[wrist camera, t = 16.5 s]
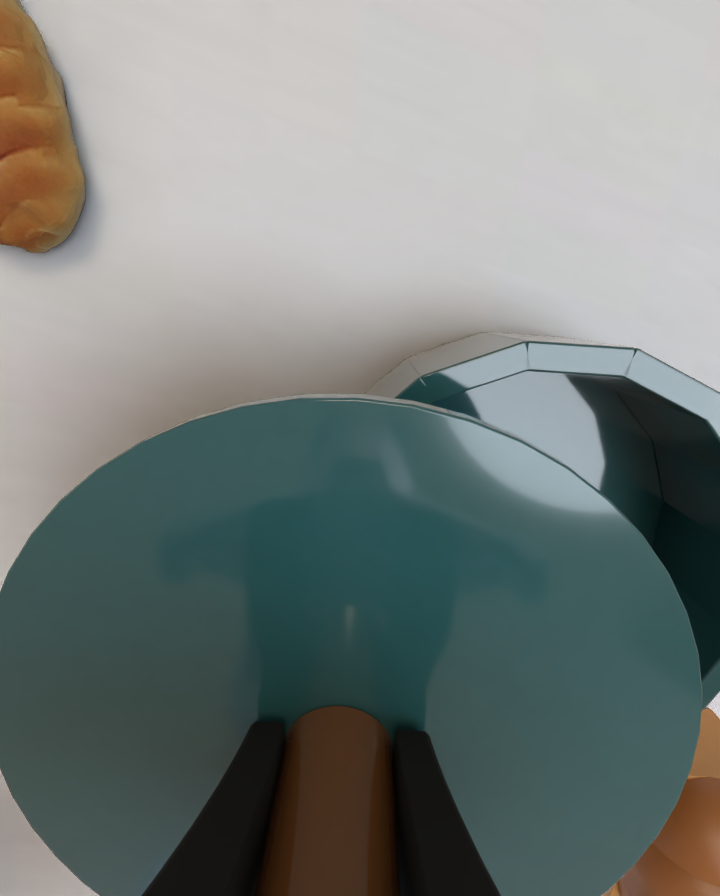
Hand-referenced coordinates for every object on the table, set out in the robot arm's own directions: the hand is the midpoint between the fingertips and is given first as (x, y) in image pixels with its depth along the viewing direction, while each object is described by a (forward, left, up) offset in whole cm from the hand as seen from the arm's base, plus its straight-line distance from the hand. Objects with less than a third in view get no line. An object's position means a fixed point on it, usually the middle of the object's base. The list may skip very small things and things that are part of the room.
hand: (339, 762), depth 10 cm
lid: (0, 0, -1) cm, 1 cm away
